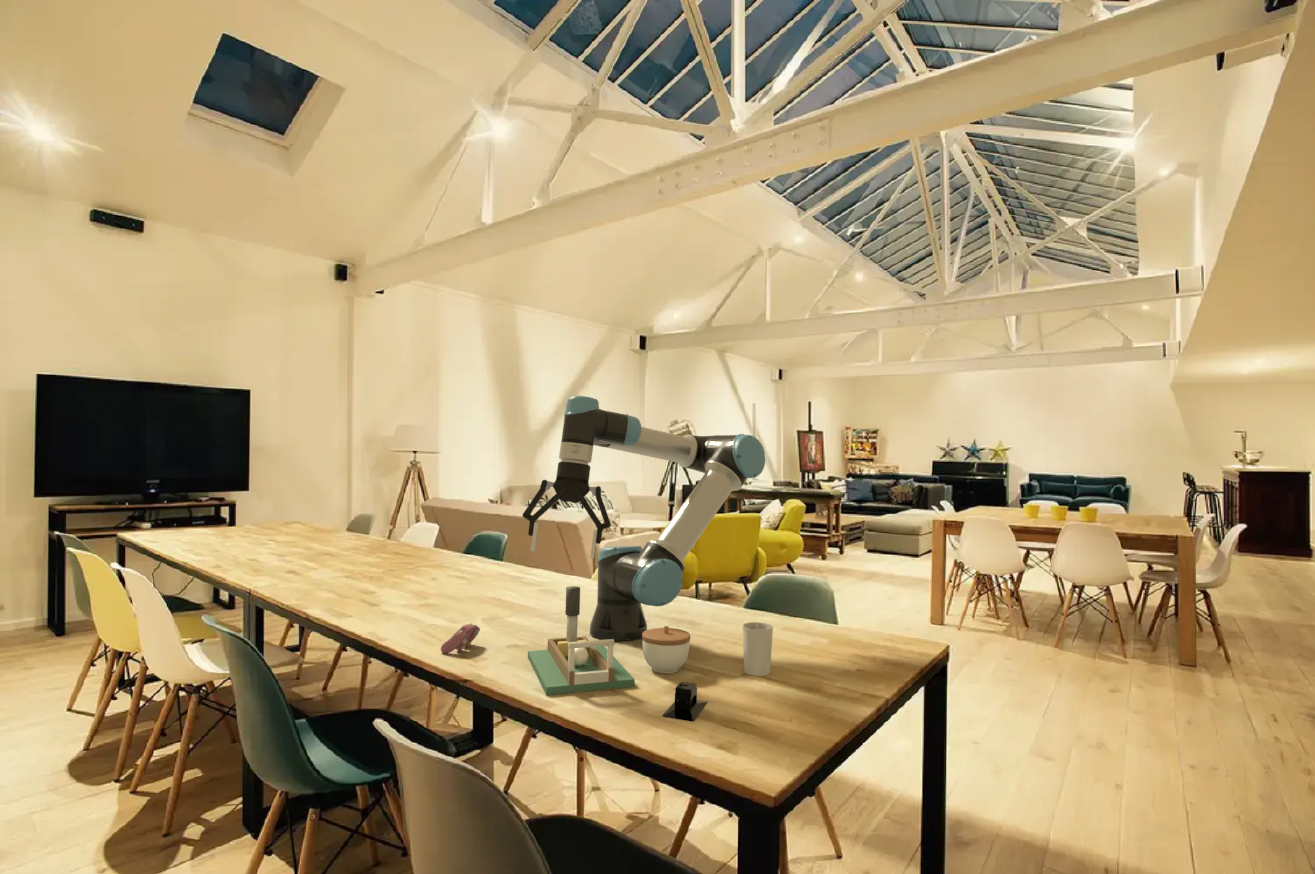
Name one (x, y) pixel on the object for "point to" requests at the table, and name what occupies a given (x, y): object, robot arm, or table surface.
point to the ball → (580, 656)
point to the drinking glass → (757, 648)
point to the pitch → (579, 668)
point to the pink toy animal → (461, 638)
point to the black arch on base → (685, 703)
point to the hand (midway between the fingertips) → (562, 554)
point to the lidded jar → (665, 648)
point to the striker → (571, 618)
